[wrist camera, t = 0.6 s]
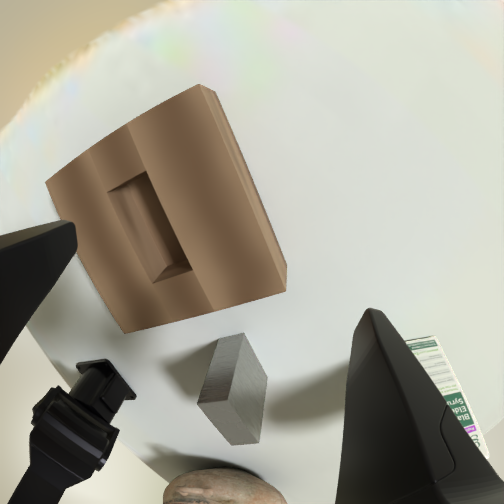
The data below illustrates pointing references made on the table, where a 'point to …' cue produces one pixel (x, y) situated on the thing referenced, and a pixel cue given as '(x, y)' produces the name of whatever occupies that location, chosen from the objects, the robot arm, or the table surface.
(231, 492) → the cooking pot
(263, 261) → the post block
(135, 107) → the table surface
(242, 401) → the upright grey stone slab
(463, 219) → the table surface
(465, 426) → the syrup box
